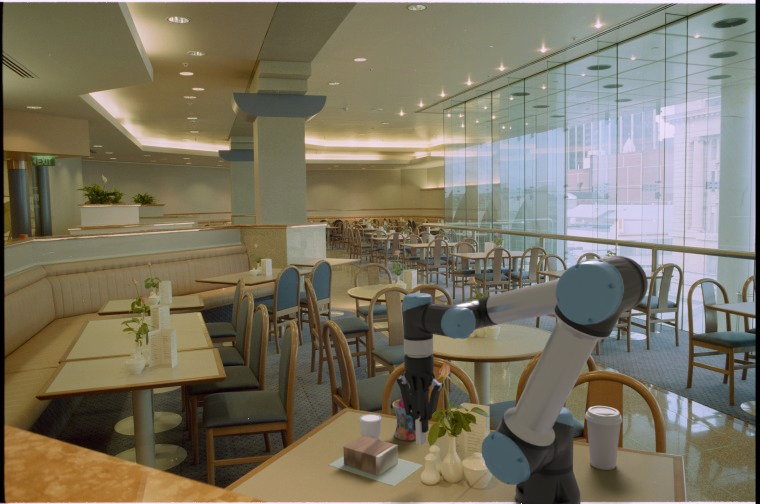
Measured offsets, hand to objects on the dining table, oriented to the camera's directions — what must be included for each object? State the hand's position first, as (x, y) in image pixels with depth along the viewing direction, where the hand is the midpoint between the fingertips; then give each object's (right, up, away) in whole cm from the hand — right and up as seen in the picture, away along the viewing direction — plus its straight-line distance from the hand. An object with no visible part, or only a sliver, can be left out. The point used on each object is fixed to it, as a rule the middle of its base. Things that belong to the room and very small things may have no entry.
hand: (421, 443), depth 153 cm
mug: (-1, -8, +29) cm, 30 cm away
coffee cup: (+50, -8, +8) cm, 51 cm away
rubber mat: (-12, -9, +9) cm, 18 cm away
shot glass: (-13, -8, +27) cm, 32 cm away
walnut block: (-8, -7, +6) cm, 12 cm away
